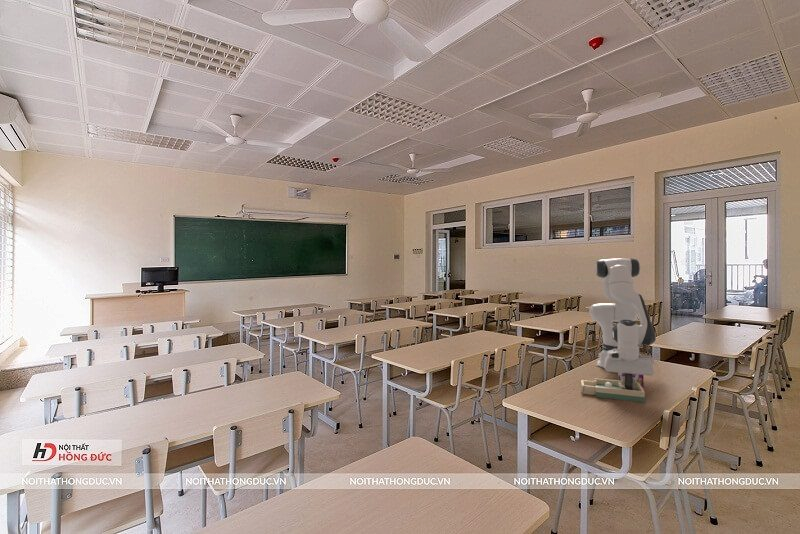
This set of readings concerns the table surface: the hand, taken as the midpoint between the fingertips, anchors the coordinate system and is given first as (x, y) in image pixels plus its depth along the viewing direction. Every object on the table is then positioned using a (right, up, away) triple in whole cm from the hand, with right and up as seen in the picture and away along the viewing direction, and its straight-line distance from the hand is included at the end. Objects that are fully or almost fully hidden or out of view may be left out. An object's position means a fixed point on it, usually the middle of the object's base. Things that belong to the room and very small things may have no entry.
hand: (628, 382), depth 177 cm
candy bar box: (+10, -6, +15) cm, 19 cm away
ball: (-8, -3, +3) cm, 9 cm away
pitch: (-7, -7, +3) cm, 10 cm away
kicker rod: (-1, -4, +1) cm, 4 cm away
